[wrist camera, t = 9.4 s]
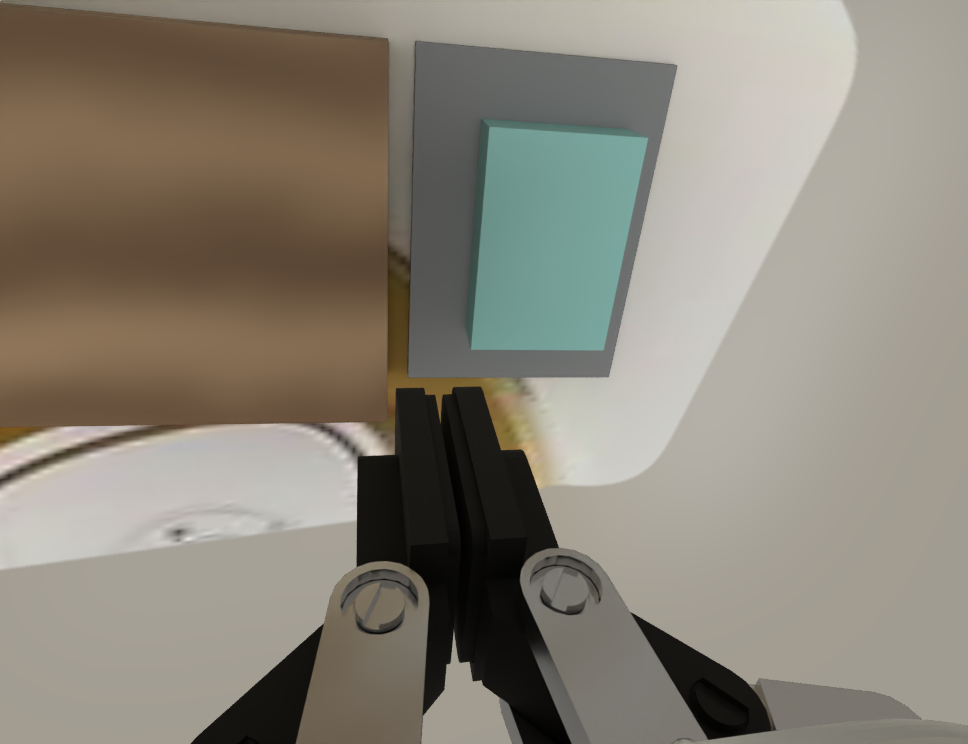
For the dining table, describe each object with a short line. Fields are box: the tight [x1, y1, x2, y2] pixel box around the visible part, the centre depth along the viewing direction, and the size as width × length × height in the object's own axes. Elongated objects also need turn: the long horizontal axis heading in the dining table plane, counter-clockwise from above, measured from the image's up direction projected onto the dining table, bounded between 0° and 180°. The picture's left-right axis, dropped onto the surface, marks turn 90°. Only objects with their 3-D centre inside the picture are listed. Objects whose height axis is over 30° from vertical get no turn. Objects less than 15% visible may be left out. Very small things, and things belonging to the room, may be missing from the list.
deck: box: [0, 3, 389, 427], centre depth 22 cm, size 14×20×4 cm
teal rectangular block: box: [466, 119, 648, 350], centre depth 25 cm, size 9×6×2 cm, turn 175°
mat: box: [408, 41, 678, 378], centre depth 26 cm, size 14×10×1 cm
